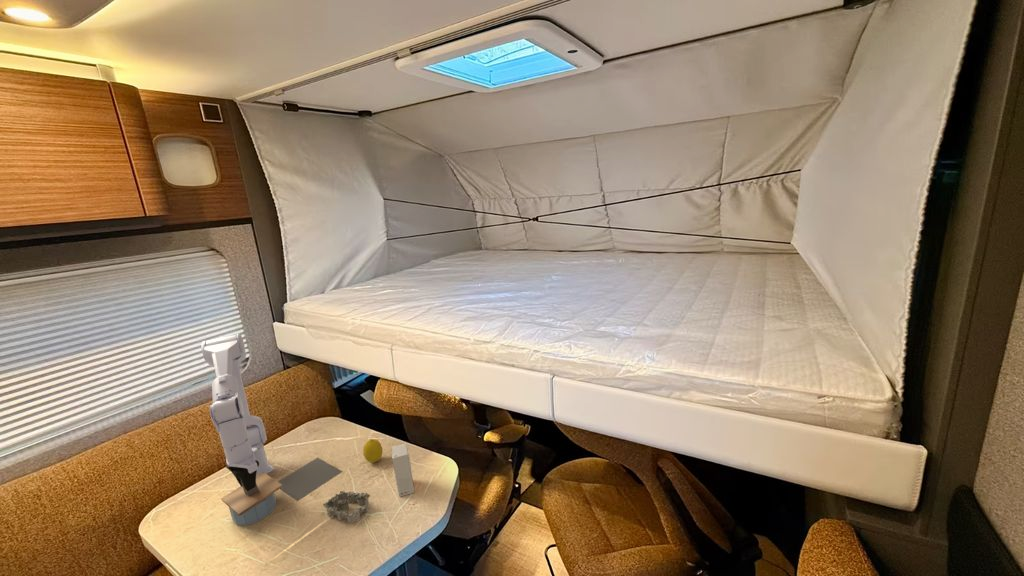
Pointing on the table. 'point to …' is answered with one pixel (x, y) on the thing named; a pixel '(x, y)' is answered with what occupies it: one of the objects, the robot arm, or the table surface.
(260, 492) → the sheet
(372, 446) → the lemon
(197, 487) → the table surface
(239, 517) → the bowl
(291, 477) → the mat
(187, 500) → the table surface
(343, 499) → the grey lumpy curved piece
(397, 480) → the skincare box
